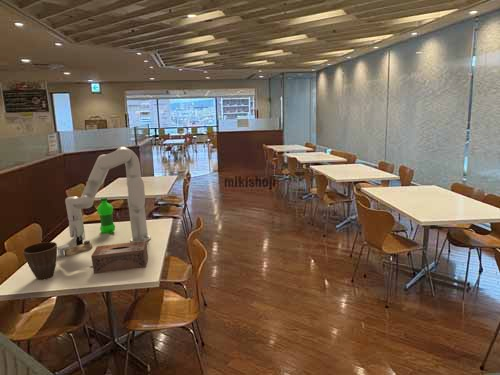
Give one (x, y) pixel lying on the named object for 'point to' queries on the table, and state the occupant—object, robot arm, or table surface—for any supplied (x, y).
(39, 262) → the plant pot
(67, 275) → the table surface
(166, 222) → the table surface
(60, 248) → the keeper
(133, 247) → the tissue box cover
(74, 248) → the link
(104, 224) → the plastic bottle
